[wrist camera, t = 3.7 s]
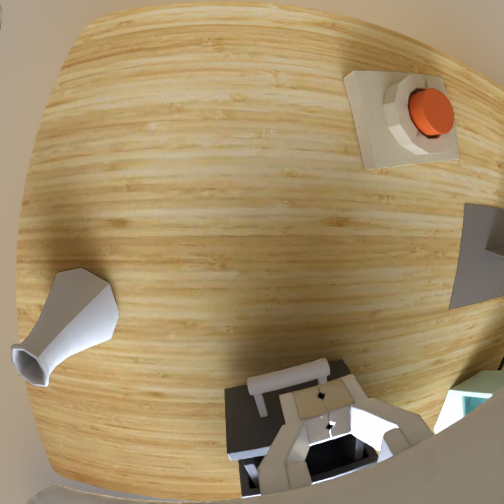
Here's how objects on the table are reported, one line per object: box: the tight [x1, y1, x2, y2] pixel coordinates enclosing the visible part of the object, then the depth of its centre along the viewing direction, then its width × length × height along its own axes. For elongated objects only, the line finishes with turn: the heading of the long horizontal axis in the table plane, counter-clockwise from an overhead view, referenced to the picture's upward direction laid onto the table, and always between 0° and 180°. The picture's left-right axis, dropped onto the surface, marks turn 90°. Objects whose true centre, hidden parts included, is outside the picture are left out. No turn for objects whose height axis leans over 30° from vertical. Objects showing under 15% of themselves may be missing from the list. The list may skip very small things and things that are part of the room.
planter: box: [434, 370, 504, 434], centre depth 23 cm, size 17×8×21 cm
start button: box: [409, 88, 454, 136], centre depth 16 cm, size 4×4×2 cm
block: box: [343, 70, 460, 170], centre depth 18 cm, size 10×8×4 cm
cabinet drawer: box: [225, 358, 364, 488], centre depth 22 cm, size 18×11×8 cm, turn 12°
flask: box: [11, 268, 119, 387], centre depth 17 cm, size 7×7×10 cm
